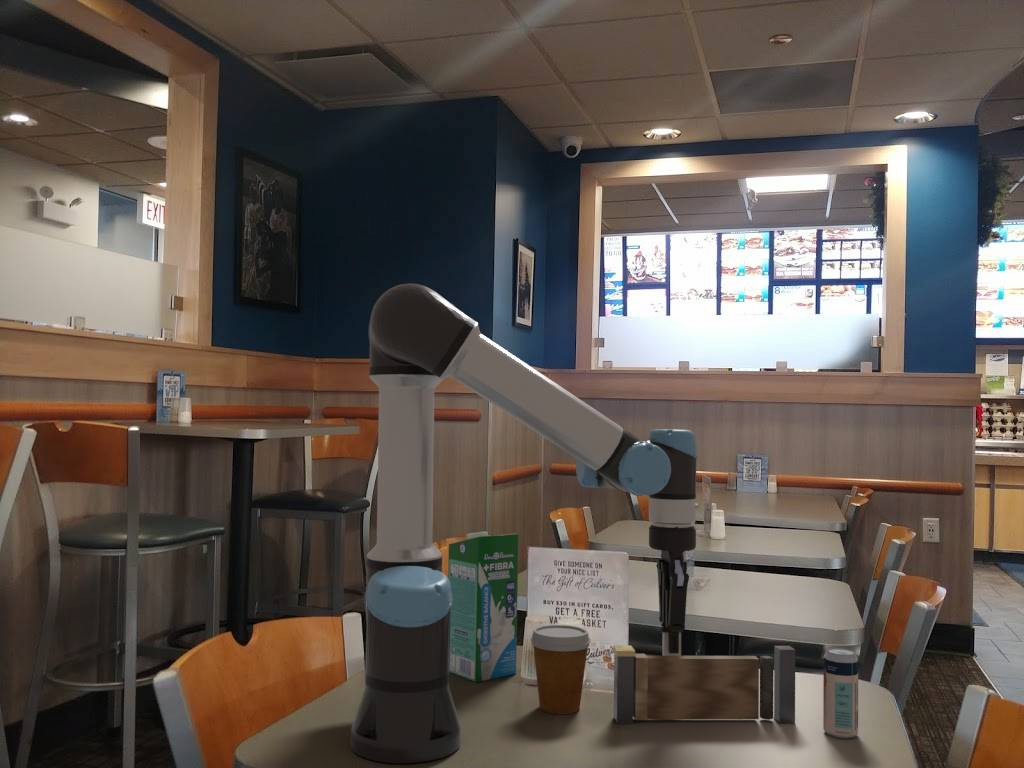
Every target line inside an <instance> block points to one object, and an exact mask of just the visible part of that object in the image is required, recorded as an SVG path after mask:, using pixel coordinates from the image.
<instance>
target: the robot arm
mask: <svg viewBox="0 0 1024 768" xmlns="http://www.w3.org/2000/svg"><path fill="white" fill-rule="evenodd" d="M369 319H370V320H369V323H368V339H369V373H368V374H369V377H368V378H369V379H370V380H371V381H372V382H373V383H374V385H376V386H377V388H378V436H377V437H378V440H377V441H378V442H377V443H378V445H377V447H378V449H377V455H378V456H377V498H376V499H377V503H376V505H377V511H376V513H377V515H376V544H375V546H374V547H373V548H372V549H371V550H369V551H368V553H367V554H366V570H365V571H366V574H365V575H366V576H365V578H366V579H365V581H366V582H365V584H366V585H365V592H364V598H363V599H364V609H365V622H366V623H365V625H366V629H365V631H366V632H365V672H364V673H365V675H364V678H365V679H364V680H365V681H364V689H363V693H362V696H361V698H360V699H361V700H360V702H359V704H358V708H357V711H356V713H355V717H354V719H353V721H352V725H351V729H350V748H351V750H352V752H353V753H355V754H356V755H358V756H360V757H362V758H364V759H367V760H371V761H373V762H375V761H376V762H379V763H387V764H388V763H389V764H414V763H415V764H416V763H425V762H431V761H435V760H439V759H441V758H445V757H447V756H450V755H452V754H454V753H455V752H456V751H458V749H460V746H461V744H462V727H461V722H460V719H459V715H458V712H457V709H456V705H455V701H454V698H453V695H452V692H451V689H450V672H449V671H450V621H451V605H452V598H453V597H452V592H451V584H450V581H449V579H448V575H446V574H445V573H443V553H442V552H441V551H440V550H439V549H438V548H437V547H436V546H435V545H434V541H433V539H434V538H433V535H434V534H433V532H434V531H433V530H434V524H433V523H434V522H433V521H434V520H433V519H434V459H435V457H434V456H435V454H434V452H435V451H434V449H435V448H434V446H435V443H434V442H435V389H436V387H438V386H439V385H440V383H442V382H443V381H444V380H445V378H446V379H447V378H452V379H453V380H454V381H457V382H458V383H460V384H461V385H463V386H464V387H465V388H467V389H469V390H471V391H472V392H473V393H474V394H477V395H478V396H480V397H481V398H482V399H484V400H485V401H487V402H489V403H490V404H492V405H493V406H495V407H496V408H498V409H500V410H501V411H503V412H504V413H505V414H507V415H509V416H510V417H512V418H513V419H515V420H517V422H520V423H521V424H522V425H524V426H526V427H527V428H529V429H530V430H532V431H534V432H535V433H537V434H538V435H540V436H541V437H543V438H544V439H545V440H547V441H549V442H551V443H552V444H553V445H555V446H556V447H558V448H560V449H561V450H563V451H564V452H566V453H567V454H569V455H571V456H572V457H574V458H575V470H576V471H575V472H576V478H577V481H578V483H579V484H580V485H581V486H582V487H584V488H595V489H601V488H602V489H603V488H604V489H605V488H607V489H615V490H617V491H623V492H627V493H630V494H631V495H632V496H637V497H642V496H648V521H649V522H651V524H650V526H649V527H648V545H649V547H650V548H651V549H652V550H655V551H660V552H661V553H660V558H659V559H657V563H656V569H657V581H658V582H657V583H658V584H657V585H658V606H659V608H658V609H659V611H658V612H659V619H658V620H659V622H660V623H661V627H660V632H661V633H662V637H661V638H662V642H661V643H662V646H661V647H662V648H661V649H662V650H661V652H662V655H661V656H682V632H685V630H686V613H687V612H686V611H687V595H688V585H689V581H690V576H689V573H688V571H687V570H688V565H687V564H688V563H687V562H686V561H685V559H684V558H685V557H684V552H686V551H687V552H690V551H691V552H692V551H693V550H695V549H696V548H697V529H696V527H695V526H694V525H693V524H695V523H696V520H697V519H696V516H697V512H696V511H698V510H699V509H700V505H699V504H698V503H697V500H696V499H697V462H698V455H697V441H696V440H697V439H696V435H695V433H694V432H693V431H692V430H690V429H662V428H661V429H657V428H656V429H651V430H650V432H649V437H648V440H644V441H643V439H640V438H639V437H637V436H636V435H634V434H633V433H631V432H629V431H628V430H626V429H625V428H623V427H622V426H621V425H619V424H618V423H616V422H615V421H613V420H612V419H610V418H608V417H607V416H605V415H604V414H603V413H601V412H599V411H598V410H597V409H595V408H594V407H593V406H591V405H589V404H588V403H586V402H585V401H583V400H582V399H580V398H579V397H577V396H576V395H574V394H573V393H571V392H569V391H568V390H567V389H565V388H564V387H562V386H561V385H559V384H558V383H556V382H555V381H553V380H551V379H550V378H549V377H547V376H546V375H544V374H543V373H541V372H539V371H538V370H537V369H535V368H533V367H532V366H530V365H529V364H528V363H526V362H525V361H523V360H521V359H520V358H519V357H517V356H516V355H514V354H513V353H511V352H509V351H508V349H505V348H503V347H502V346H500V345H499V344H498V343H496V342H494V341H493V340H491V339H490V338H489V337H487V336H485V335H484V334H482V333H481V331H480V326H479V323H478V322H477V321H476V320H474V318H471V317H470V316H468V315H467V314H465V313H464V312H463V311H461V310H460V309H459V308H457V307H456V306H455V305H454V304H453V303H451V302H449V301H448V300H447V299H445V298H444V297H443V296H442V295H440V294H439V293H437V292H436V291H435V290H433V289H431V288H429V287H427V286H426V285H422V284H420V283H419V284H418V283H403V284H398V285H395V286H393V287H391V288H389V289H388V290H386V291H385V292H384V293H382V294H381V296H380V297H379V298H378V299H377V300H376V302H375V303H374V305H373V308H372V310H371V315H370V318H369Z"/></svg>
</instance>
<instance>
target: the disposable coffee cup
mask: <svg viewBox="0 0 1024 768" xmlns="http://www.w3.org/2000/svg"><path fill="white" fill-rule="evenodd" d="M589 636H590V634H589V632H588V630H587V629H586V628H583V627H580V626H575V625H567V624H551V625H550V624H549V625H542V626H540V625H539V626H538V627H536V628H534V629H533V631H532V635H531V636H530V642H531V644H532V646H533V652H534V653H533V656H534V664H535V673H536V674H535V675H536V683H537V684H536V686H537V695H538V703H539V708H540V710H541V711H543V712H546V713H550V714H556V715H568V714H573V713H577V712H579V711H580V708H581V700H582V693H583V686H584V676H585V671H586V662H587V654H588V650H589V649H588V648H589V647H590V644H591V641H592V640H591V638H590V637H589Z"/></svg>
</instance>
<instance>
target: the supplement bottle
mask: <svg viewBox="0 0 1024 768" xmlns="http://www.w3.org/2000/svg"><path fill="white" fill-rule="evenodd" d="M822 683H823V685H822V686H823V687H822V688H823V697H822V698H823V699H822V700H823V702H822V704H823V714H822V715H823V716H822V717H823V719H822V723H823V725H822V727H823V728H822V729H823V731H824V732H826V733H827V735H829V736H831V737H833V738H837V739H845V740H847V739H853V738H854V737H856V736H857V735H858V734H859V658H858V656H857V654H856V652H855V651H853V650H852V649H847V648H840V647H833V648H832V647H831V648H828V649H826V651H825V653H824V655H823V682H822Z"/></svg>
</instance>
